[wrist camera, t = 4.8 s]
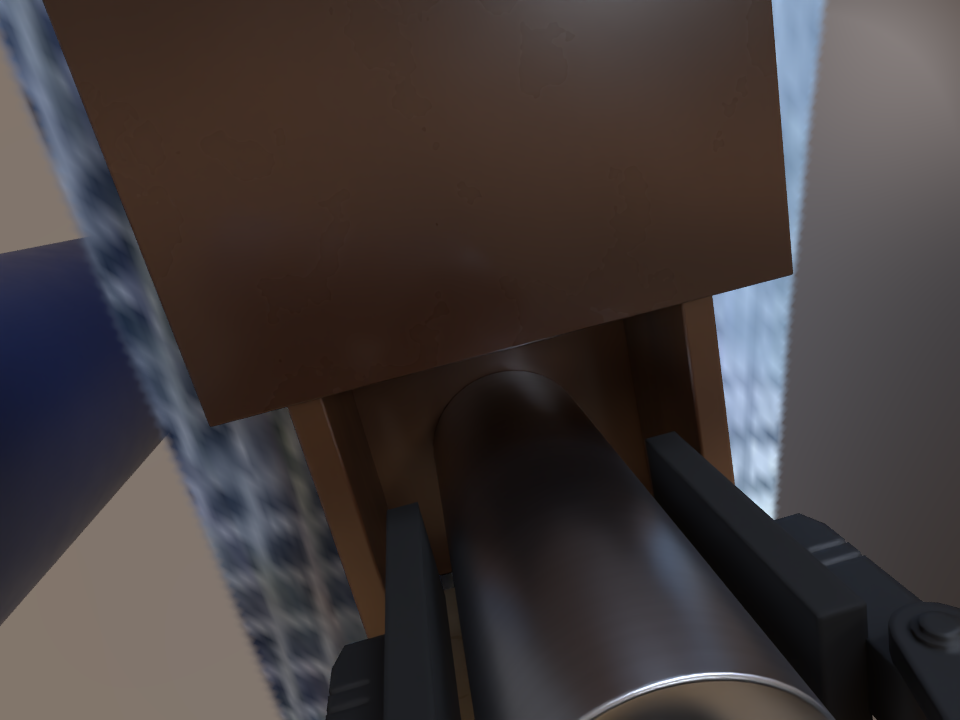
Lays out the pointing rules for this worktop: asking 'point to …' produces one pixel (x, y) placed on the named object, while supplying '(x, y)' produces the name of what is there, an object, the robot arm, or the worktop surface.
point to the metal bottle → (587, 577)
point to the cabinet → (427, 173)
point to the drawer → (424, 396)
